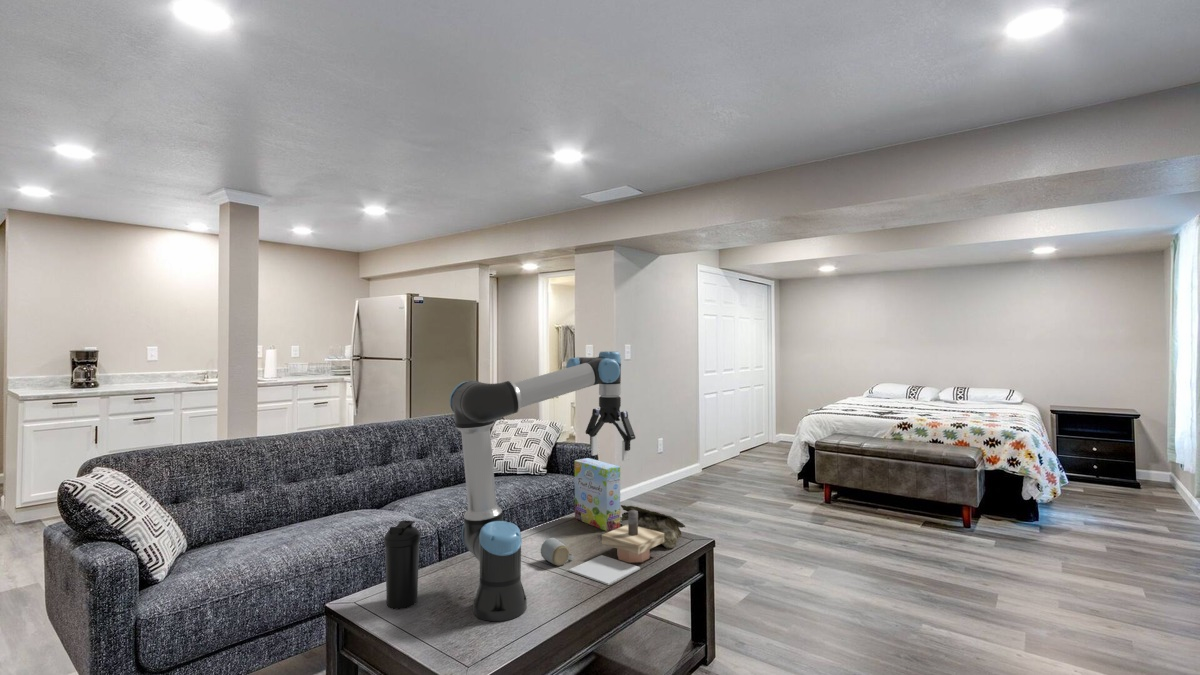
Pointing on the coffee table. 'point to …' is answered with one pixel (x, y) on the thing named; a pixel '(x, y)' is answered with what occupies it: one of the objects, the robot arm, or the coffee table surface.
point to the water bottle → (402, 565)
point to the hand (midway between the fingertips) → (609, 457)
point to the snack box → (597, 493)
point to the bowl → (632, 556)
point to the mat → (604, 569)
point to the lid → (633, 536)
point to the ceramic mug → (555, 552)
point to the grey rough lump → (656, 524)
